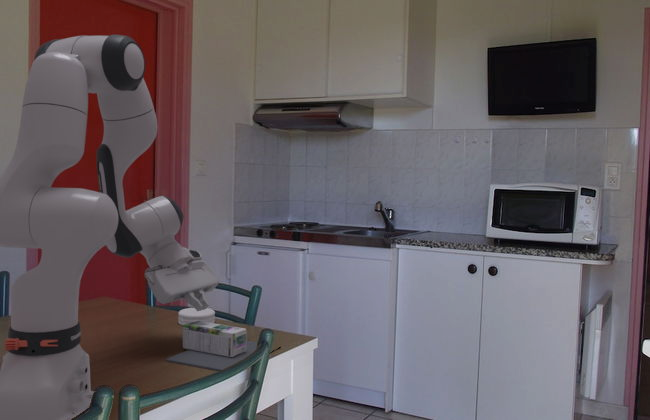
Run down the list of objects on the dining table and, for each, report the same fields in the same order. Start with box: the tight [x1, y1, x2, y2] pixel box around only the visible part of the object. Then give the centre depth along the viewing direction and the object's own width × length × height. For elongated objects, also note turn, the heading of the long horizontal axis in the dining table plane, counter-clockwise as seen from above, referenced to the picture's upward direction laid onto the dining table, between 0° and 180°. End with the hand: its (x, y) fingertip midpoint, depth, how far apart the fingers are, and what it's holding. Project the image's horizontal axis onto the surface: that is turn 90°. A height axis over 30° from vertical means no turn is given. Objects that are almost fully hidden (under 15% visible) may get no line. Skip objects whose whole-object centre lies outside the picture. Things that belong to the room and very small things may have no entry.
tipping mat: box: [164, 340, 258, 372], centre depth 149 cm, size 17×22×1 cm
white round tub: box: [177, 307, 216, 327], centre depth 177 cm, size 10×10×4 cm
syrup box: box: [182, 321, 248, 357], centre depth 150 cm, size 6×6×14 cm
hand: (203, 308), depth 151 cm, fingers closed
